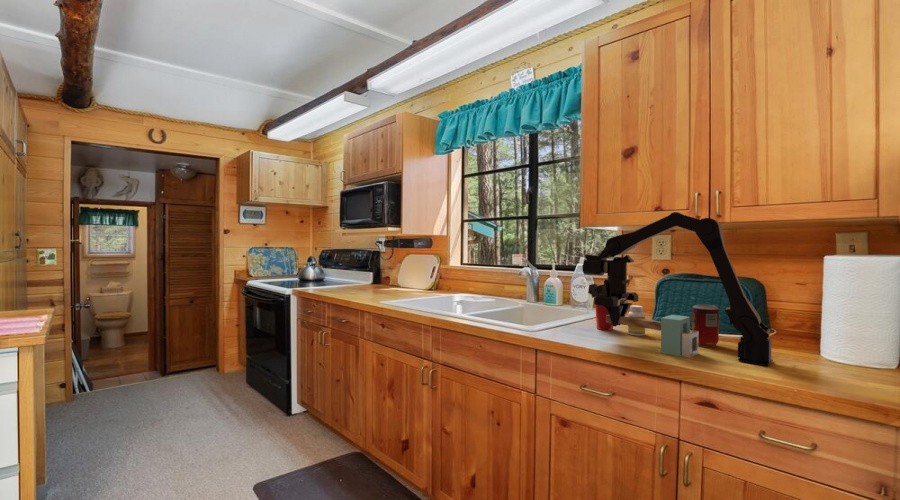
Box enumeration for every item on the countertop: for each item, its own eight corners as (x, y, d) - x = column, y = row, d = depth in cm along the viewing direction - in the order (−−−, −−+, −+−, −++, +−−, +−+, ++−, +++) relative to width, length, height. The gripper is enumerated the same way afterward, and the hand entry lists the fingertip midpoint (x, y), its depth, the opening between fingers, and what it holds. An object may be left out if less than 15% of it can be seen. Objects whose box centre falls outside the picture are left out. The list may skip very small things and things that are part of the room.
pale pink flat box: (698, 353, 120) (698, 331, 120) (690, 357, 116) (690, 334, 116) (689, 352, 122) (690, 330, 122) (681, 356, 117) (681, 333, 117)
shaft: (670, 330, 123) (670, 322, 123) (668, 331, 122) (668, 323, 122) (609, 321, 137) (609, 314, 137) (605, 322, 136) (605, 315, 135)
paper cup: (620, 329, 153) (621, 291, 152) (603, 331, 150) (604, 292, 150) (605, 326, 160) (605, 289, 160) (589, 327, 157) (589, 289, 157)
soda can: (724, 347, 127) (724, 306, 127) (704, 348, 126) (704, 307, 126) (705, 342, 134) (706, 303, 134) (686, 343, 133) (686, 304, 133)
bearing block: (689, 351, 122) (690, 316, 122) (679, 356, 117) (680, 320, 117) (671, 348, 126) (671, 314, 126) (660, 352, 120) (661, 317, 120)
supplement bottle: (646, 336, 142) (647, 307, 142) (629, 335, 143) (630, 307, 143) (642, 333, 148) (643, 305, 147) (626, 332, 149) (626, 304, 148)
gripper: (606, 273, 146) (606, 318, 146) (578, 276, 133) (578, 325, 134) (639, 275, 138) (638, 323, 138) (612, 278, 125) (611, 331, 125)
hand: (616, 325), depth 134 cm, fingers closed on shaft, 2 cm apart
